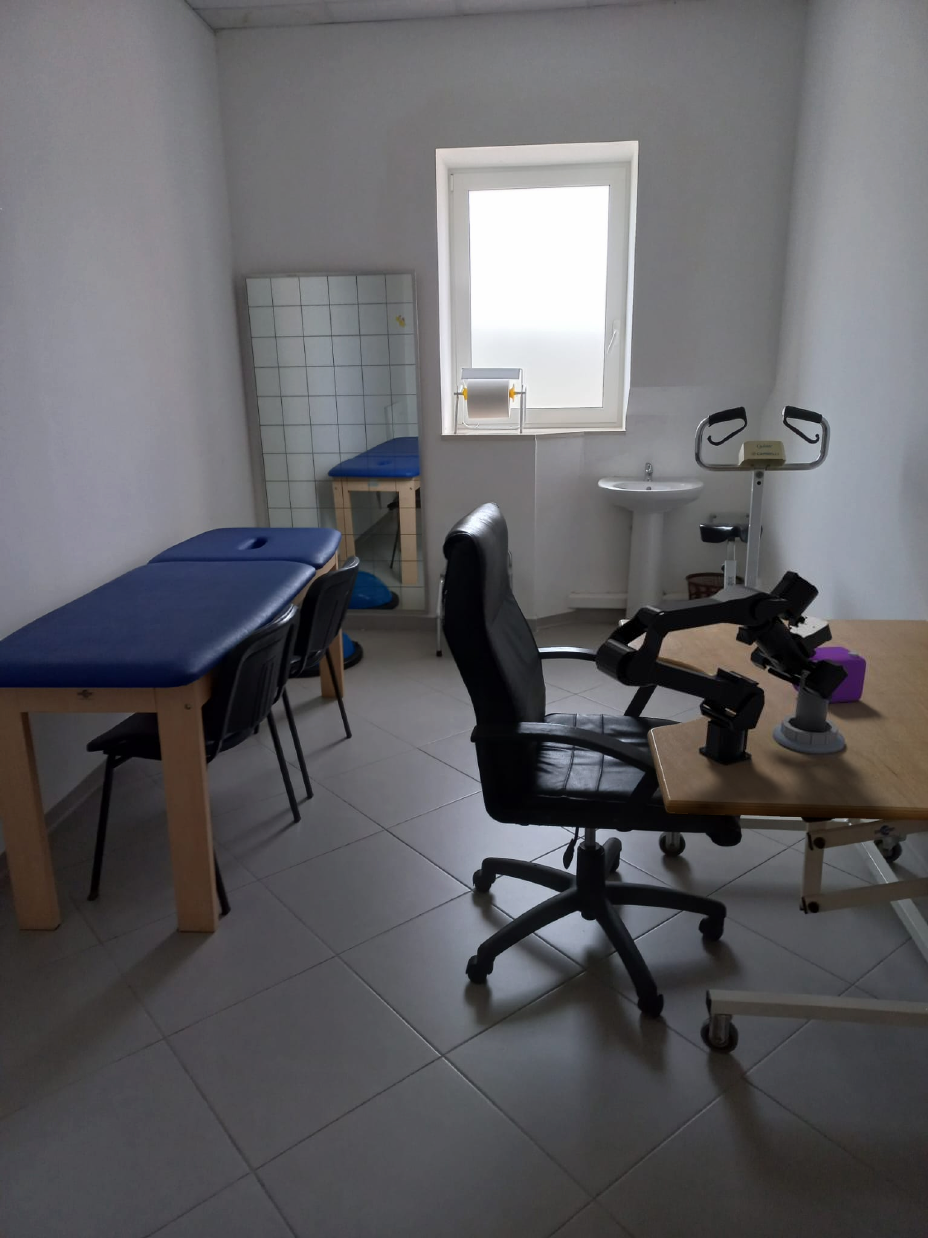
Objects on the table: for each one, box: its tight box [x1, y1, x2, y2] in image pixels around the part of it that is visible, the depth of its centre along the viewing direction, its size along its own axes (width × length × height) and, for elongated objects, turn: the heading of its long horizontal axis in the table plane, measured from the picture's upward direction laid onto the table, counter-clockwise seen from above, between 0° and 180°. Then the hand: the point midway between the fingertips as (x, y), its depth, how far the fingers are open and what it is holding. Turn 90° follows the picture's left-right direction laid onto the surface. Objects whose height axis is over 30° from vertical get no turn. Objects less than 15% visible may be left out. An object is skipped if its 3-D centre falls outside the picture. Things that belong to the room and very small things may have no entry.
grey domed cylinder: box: [794, 661, 830, 733], centre depth 151 cm, size 5×5×12 cm
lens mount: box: [772, 714, 846, 755], centre depth 153 cm, size 12×12×3 cm
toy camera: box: [791, 646, 867, 704], centre depth 173 cm, size 11×14×10 cm
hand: (819, 693), depth 151 cm, fingers closed on grey domed cylinder, 5 cm apart
